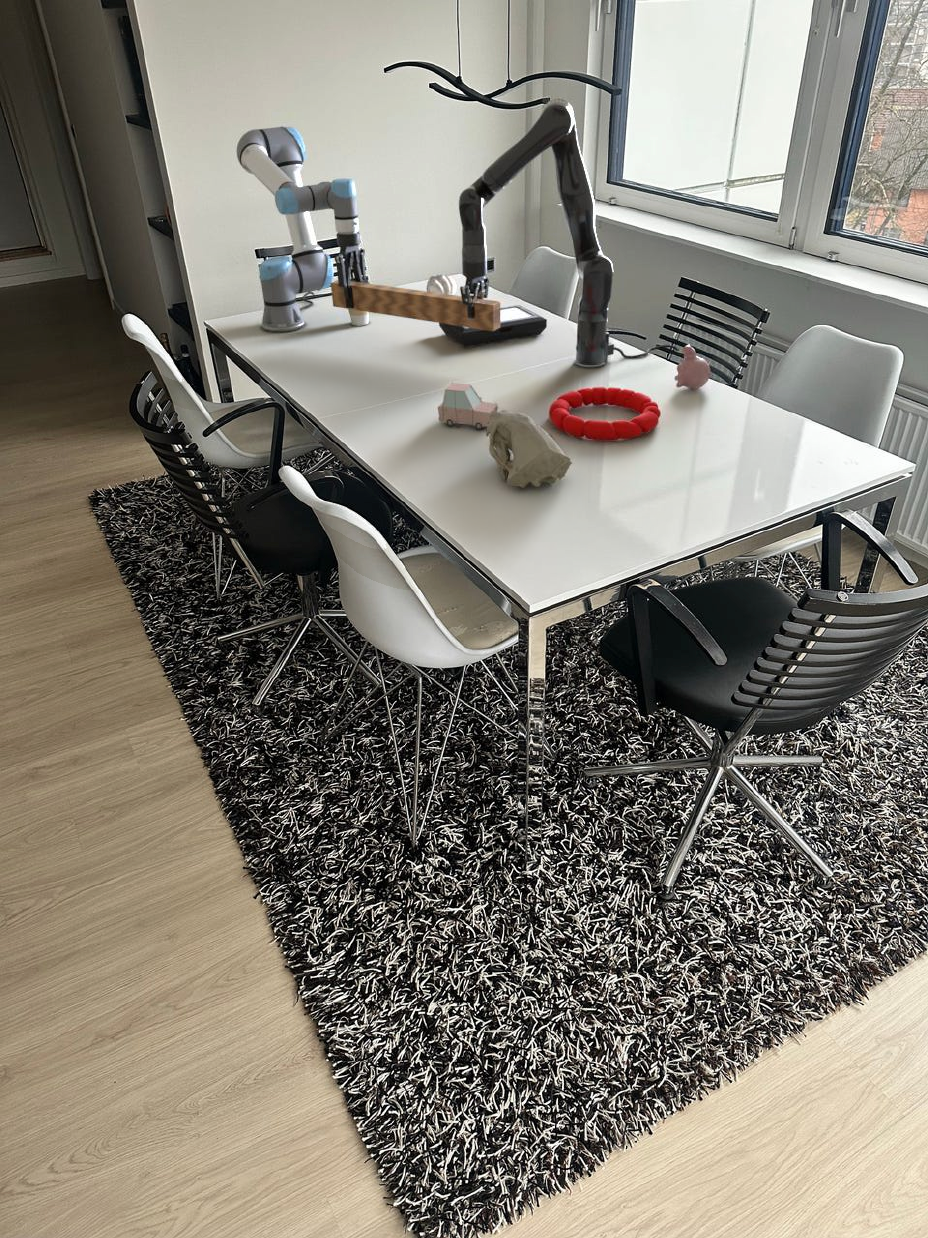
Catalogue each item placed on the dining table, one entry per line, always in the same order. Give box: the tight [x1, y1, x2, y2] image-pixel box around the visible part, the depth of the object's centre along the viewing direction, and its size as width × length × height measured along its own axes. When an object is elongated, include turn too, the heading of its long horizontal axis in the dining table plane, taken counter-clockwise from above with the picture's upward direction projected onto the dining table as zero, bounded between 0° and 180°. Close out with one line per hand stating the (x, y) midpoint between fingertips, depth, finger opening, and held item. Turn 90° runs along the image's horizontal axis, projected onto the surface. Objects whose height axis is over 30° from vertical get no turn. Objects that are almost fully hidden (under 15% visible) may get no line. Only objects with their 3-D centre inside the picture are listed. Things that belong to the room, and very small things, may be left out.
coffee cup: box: [347, 277, 371, 327], centre depth 323 cm, size 10×10×15 cm
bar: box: [330, 279, 501, 331], centre depth 289 cm, size 64×4×8 cm, turn 58°
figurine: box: [674, 344, 711, 390], centre depth 259 cm, size 9×11×12 cm
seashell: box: [426, 274, 457, 295], centre depth 346 cm, size 10×15×10 cm
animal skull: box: [485, 409, 573, 489], centre depth 216 cm, size 17×25×20 cm
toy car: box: [437, 382, 499, 431], centre depth 243 cm, size 9×15×10 cm, turn 70°
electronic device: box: [438, 304, 548, 348], centre depth 309 cm, size 32×6×20 cm
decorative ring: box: [548, 386, 661, 442], centre depth 242 cm, size 7×30×30 cm
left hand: (354, 305), depth 302 cm, fingers closed on bar, 4 cm apart
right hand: (475, 315), depth 279 cm, fingers closed on bar, 4 cm apart
